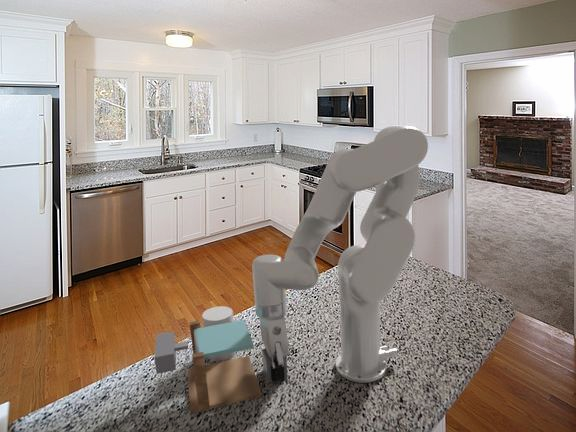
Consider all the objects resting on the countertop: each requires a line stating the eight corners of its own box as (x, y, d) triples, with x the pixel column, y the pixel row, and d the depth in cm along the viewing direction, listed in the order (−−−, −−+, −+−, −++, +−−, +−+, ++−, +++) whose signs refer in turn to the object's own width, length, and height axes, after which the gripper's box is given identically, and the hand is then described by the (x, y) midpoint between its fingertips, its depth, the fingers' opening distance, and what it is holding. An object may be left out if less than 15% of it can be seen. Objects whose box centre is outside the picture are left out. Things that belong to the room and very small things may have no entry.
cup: (242, 351, 105) (238, 311, 102) (218, 365, 99) (214, 323, 96) (223, 341, 110) (220, 303, 108) (200, 354, 104) (196, 314, 102)
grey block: (282, 366, 97) (280, 345, 96) (287, 377, 93) (286, 356, 91) (263, 370, 96) (261, 349, 95) (267, 382, 91) (266, 360, 90)
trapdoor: (244, 329, 98) (243, 315, 97) (254, 356, 86) (253, 340, 85) (158, 346, 92) (156, 331, 91) (156, 377, 80) (154, 360, 79)
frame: (249, 358, 101) (245, 312, 98) (261, 396, 86) (258, 344, 83) (188, 371, 97) (182, 323, 94) (190, 414, 82) (183, 359, 79)
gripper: (296, 319, 83) (300, 391, 87) (276, 290, 99) (280, 351, 103) (263, 326, 81) (268, 399, 85) (248, 294, 97) (253, 357, 101)
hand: (275, 372), depth 94 cm, fingers closed on grey block, 5 cm apart
